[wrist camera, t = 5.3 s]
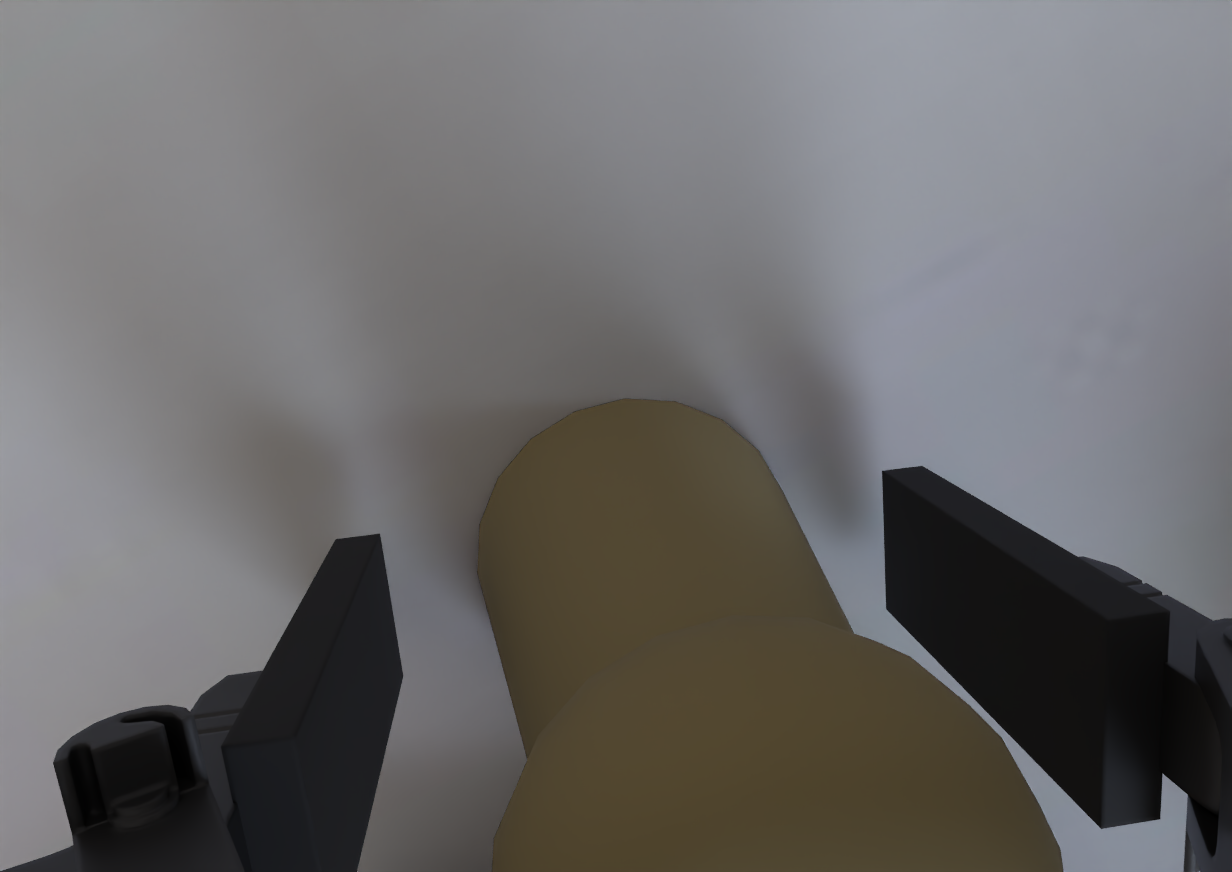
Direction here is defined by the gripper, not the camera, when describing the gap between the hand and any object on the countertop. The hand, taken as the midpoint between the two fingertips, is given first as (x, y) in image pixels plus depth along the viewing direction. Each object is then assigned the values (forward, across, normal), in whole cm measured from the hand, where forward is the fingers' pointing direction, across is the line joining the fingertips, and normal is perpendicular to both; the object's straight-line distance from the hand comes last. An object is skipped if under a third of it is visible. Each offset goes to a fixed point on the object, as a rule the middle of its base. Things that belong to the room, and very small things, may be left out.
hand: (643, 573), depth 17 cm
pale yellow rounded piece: (+1, 0, 0) cm, 1 cm away
